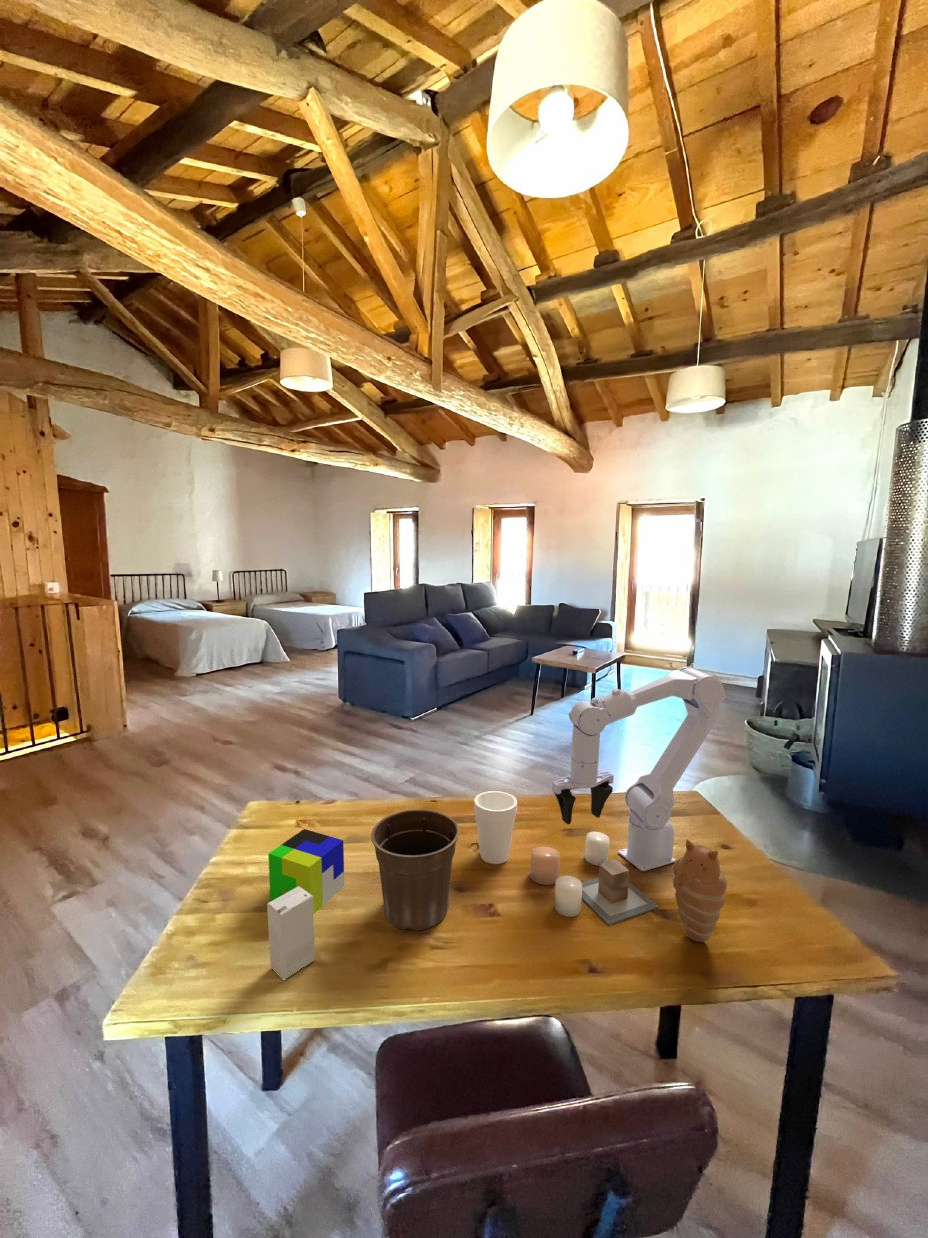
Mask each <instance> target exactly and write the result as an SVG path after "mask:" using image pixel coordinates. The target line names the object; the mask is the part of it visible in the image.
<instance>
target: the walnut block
mask: <svg viewBox="0 0 928 1238" xmlns="http://www.w3.org/2000/svg"><path fill="white" fill-rule="evenodd" d="M598 877H599V884H598V892H599V893H600V894H601V895H602V896H603V897H604V898H605V899H606V900H607V901H608V902H609V903H611V904H613V903H616V902H619V901H622V900H625V899H628V883H629V882H630V880H629V879H630V870H629V869H628V868H627V867H626V866H624V864H622V863H621V862H619V861H618V860H617V859H613V860H610V861H607V862H605V863H602V864H599V867H598Z"/></svg>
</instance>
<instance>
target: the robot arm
mask: <svg viewBox="0 0 928 1238" xmlns="http://www.w3.org/2000/svg"><path fill="white" fill-rule="evenodd" d="M726 696H727V695H726V692H725V689H724V685H723V683H722V681H721V679H719V678H718V677H716V676H714V675H709V674H707V673H704V672H702V671H700V670H697V669H696V668H694V667H692V666H684V667H681V668H679V669H675V670H671V671H670V673H668V674H666V675H665V676H663V677H661V678H658V679H656V680H654V681H652V682H650V683H648V684H645V685H643V686H641V687H639V688H636V689H634V690H631V691H628V690H627V689H624V688H622V689H619V688H613V689H612V690H611V693H609V694H606V695H602V696H601V697H593V698H591V700H590V701H586V700H582V701H581V700H580V701H578V702H577V703H575V704H574V705H573V706H572V708H571V710H570V712H568V718H569V719H570V721H571V723H572V736H571V754H570V768H569V769H570V770H569V774H568V775H567V776H564V777H562V778H560V779H557V780H555V781H552V783H551V785H552V786H551V790H552V792H553V793H554V795H555V796H554V797H556V800H557V802H558V805H559V809H560V814H561V819H562V822H564V823H565V824H566V825H571V823H572V818H573V817H572V815H573V808H574V804H575V801H576V799H577V798H576V797H575V796H574V795H573V793H572V791H571V790H577V789H590V796H591V797H590V799H591V801H590V811H591V812H590V813H591V815H592V816H594V817H596V818H598V819H599V818H600V817H601V814H602V811H603V809H604V806H605V804H606V802H607V800H608V798H609V797H610V796H611V794H612V793H613V790H614V789H613V786H612V785H611V784H614V774H613V773H611V772H610V771H603V772H602V771H599V762H600V761H599V759H600V757H599V756H600V746H601V744H600V743H601V741H600V740H601V739H600V738H601V733H602V732H603V731H604V730H605V728H606V726H608V725H610V724H612V723H613V724H614V723H615V722H618V721H620V720H623V719H625V718H628V717H631V716H634V715H635V713H636V711H637V708H638V707H642V706H645V705H649V704H651V703H655V702H658V701H660V700H663V699H667V698H669V697H676V698H680V699H681V700H682V701H683V704H684V706H685V709H686V713H687V715H686V717H685V718H684V720H683V721H682V723H681V724H680V726H679V727H678V729H677V731H676V732H675V734H673V735H674V736H673V737H672V739H671V740H670V742H669V743H668V745H667V747H666V748H665V749H664V751H663V752H662V754H661V756H660V757H659V759H658V760H657V762H656V764H655V765H654V766H653V768H652V770H651V771H650V773H648V774H645V775H642V776H639V778H638V780H637V781H636V782H635V783H633V784H632V785H630V786H629V787H628V788H627V789H626V790H625V794H624V802H625V803H626V804H625V805H626V806H628V808H629V810H628V811H629V815H628V827H627V829H628V830H627V831H628V832H627V845H626V848H622V849H619V850H618V854H619V855H621V856H622V858H625V859H626V861H628V862H629V863H631V864H632V865H634V866H635V867H636V868H637V869H638V870H640V871H641V872H646V871H649V870H652V869H656V868H659V867H662V866H666V865H669V864H674V863H675V862H676V859H675V858H674V857H673V856H674V855H673V853H674V843H675V842H674V841H675V840H674V839H675V830H674V828H673V827H674V826H673V823H671V821H670V818H671V813H672V809H673V808H674V806H675V804H676V799H675V794H674V789H675V787H676V785H677V784H678V782H679V781H680V779H681V778H682V776H683V775H684V773H685V772H686V769H688V766H689V765H690V764H691V762H692V761H693V758H695V756H696V754H697V752H698V751H699V749H700V748H701V746H702V744H703V743H704V742H705V740H706V738H707V737H708V736H709V734H710V732H711V730H712V729H713V728H714V726H715V724H716V722H717V721H718V718H719V717H718V716H719V710H720V706H721V704H722V703H723V701H724V699H725V698H726Z"/></svg>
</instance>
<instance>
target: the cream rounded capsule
mask: <svg viewBox="0 0 928 1238" xmlns="http://www.w3.org/2000/svg"><path fill="white" fill-rule="evenodd" d="M554 887H555V889H554V890H555V891H554V909H555V911H556V912H557V913H559V914H560V915H562V916H564V917H569V918H572V917H576V916H579V915H580V914H581V912H582V904H583V903H582V902H583V899H582V882H581V880H580V879H578V878H577V877H575V876H571V875H562V876H559V878H557V880H556V882H555V884H554Z"/></svg>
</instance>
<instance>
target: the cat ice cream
mask: <svg viewBox="0 0 928 1238" xmlns="http://www.w3.org/2000/svg"><path fill="white" fill-rule="evenodd" d="M685 847H686V848H685V849H686V851H685V852H684V854H683V856H682V857H679V858H678V859H677V860H675V862H673V866H672V873H673V875H674V876H673V879H672V880H673V882H672V883H673V887H674V890H675V894H674V895H675V896H674V897H675V900H676V904H677V913H678V917H679V918H680V920H681V927H682V930H683V931H684V933H685V934H686V935H687V936H688V938H689V939H691V940H692V941H694V942H697V943H705V942H707V941H708V940H709V939H710V938H711V936H712V932H714V931H715V929H716V927H717V922H718V921H719V919H720V915H721V914H720V913H721V909H722V908H723V907H724V906H725V903H726V897H725V893H726V892H727V889H728V882H727V878H726V877H725V876H724V874H723V872H722V870H721V863H720V861H719V857H718V856H719V851H718V850H712V849H711V848H710V847H707V846H705V845H702V844H694V843H692V842H691V841H690V840H689V839H686V840H685Z"/></svg>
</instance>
